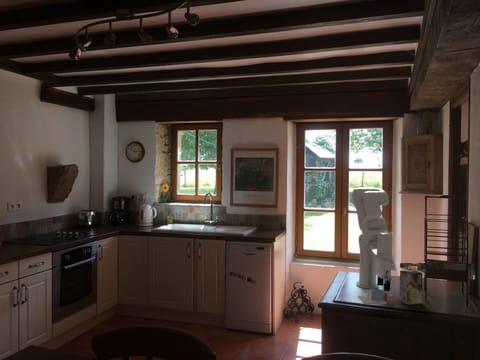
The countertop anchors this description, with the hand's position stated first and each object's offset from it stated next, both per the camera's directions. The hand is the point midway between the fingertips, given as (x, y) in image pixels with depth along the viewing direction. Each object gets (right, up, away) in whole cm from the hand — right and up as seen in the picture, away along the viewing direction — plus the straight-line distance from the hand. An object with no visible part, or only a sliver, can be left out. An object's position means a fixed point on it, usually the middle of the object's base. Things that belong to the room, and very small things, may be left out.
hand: (383, 288), depth 198 cm
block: (-1, -4, 0) cm, 4 cm away
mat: (-6, -6, 0) cm, 9 cm away
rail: (+2, -7, 0) cm, 7 cm away
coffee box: (+14, -7, -2) cm, 15 cm away
